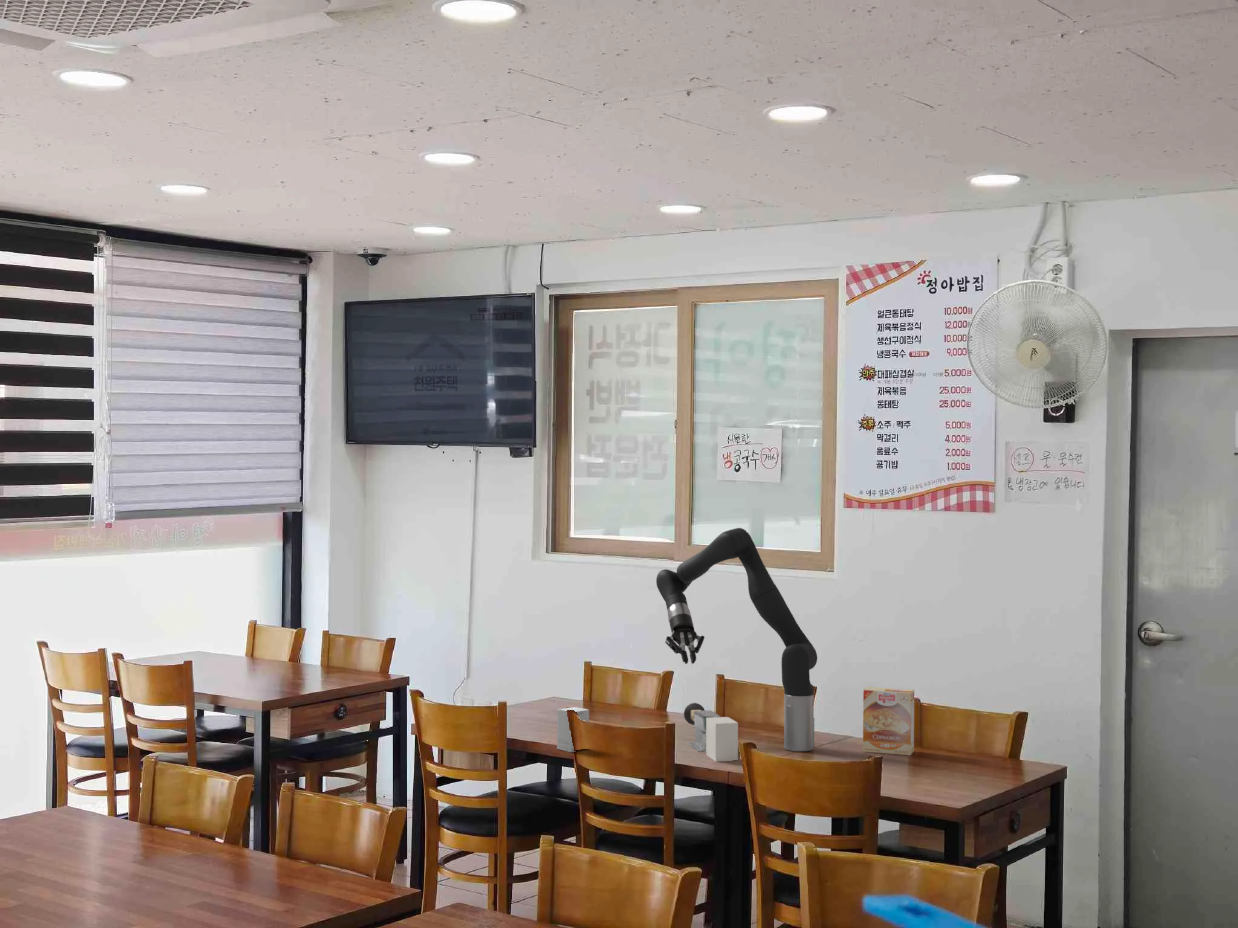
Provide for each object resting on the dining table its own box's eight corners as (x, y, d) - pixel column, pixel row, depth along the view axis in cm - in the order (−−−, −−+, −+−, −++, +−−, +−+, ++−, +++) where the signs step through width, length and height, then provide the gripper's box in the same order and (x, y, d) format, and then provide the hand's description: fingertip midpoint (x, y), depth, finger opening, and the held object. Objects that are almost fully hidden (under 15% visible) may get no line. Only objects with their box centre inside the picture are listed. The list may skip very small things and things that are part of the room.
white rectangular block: (706, 754, 423) (706, 717, 423) (727, 753, 425) (728, 716, 425) (715, 761, 413) (715, 723, 413) (737, 760, 415) (737, 722, 415)
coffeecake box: (862, 751, 429) (862, 689, 429) (866, 747, 435) (866, 686, 435) (911, 755, 423) (911, 692, 423) (914, 751, 430) (914, 688, 430)
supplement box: (571, 752, 425) (571, 711, 425) (556, 748, 431) (556, 708, 431) (589, 749, 430) (589, 709, 430) (574, 745, 435) (574, 706, 435)
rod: (683, 724, 448) (683, 703, 448) (704, 723, 450) (704, 702, 450) (703, 738, 426) (703, 715, 426) (725, 737, 427) (725, 714, 427)
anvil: (688, 743, 439) (688, 710, 439) (715, 742, 441) (715, 709, 441) (698, 751, 428) (698, 717, 428) (726, 750, 430) (726, 716, 430)
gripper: (662, 613, 450) (671, 655, 438) (702, 612, 453) (713, 654, 441) (658, 627, 455) (667, 669, 443) (698, 626, 458) (708, 668, 446)
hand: (690, 661), depth 442 cm, fingers closed
